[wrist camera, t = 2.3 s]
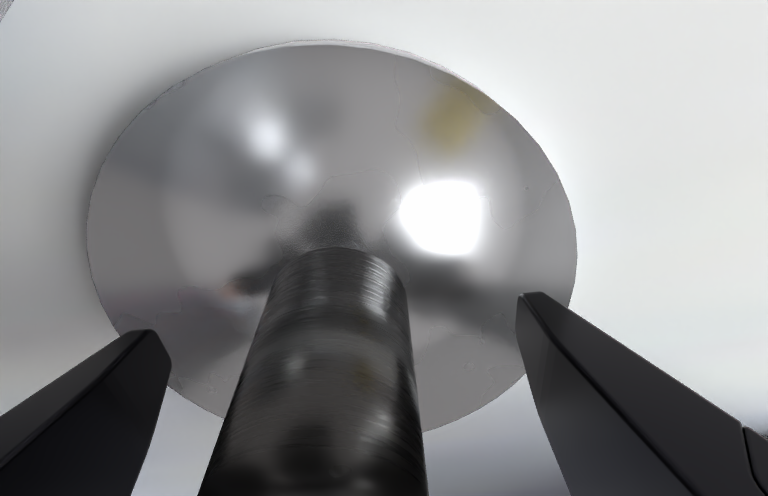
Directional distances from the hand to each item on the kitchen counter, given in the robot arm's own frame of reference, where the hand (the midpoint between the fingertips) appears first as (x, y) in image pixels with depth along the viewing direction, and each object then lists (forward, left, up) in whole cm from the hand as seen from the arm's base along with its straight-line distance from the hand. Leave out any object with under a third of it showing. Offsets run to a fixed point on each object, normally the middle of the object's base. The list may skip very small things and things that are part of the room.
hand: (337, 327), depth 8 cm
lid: (0, 0, -2) cm, 2 cm away
